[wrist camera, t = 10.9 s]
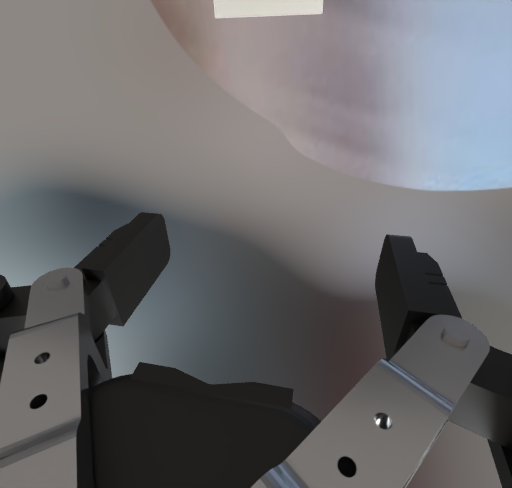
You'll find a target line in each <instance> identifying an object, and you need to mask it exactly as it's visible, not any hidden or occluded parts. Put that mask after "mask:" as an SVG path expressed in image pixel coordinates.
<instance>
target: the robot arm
mask: <svg viewBox="0 0 512 488" xmlns="http://www.w3.org/2000/svg"><path fill="white" fill-rule="evenodd" d="M169 258H170V245H169V240H168V235H167V230H166V224H165V220H164V217H163V216H162V215H161V214H155V213H144V212H142V213H139V214H138V215H137V216H136V217H135V218H134V219H133V220H132V221H131V222H130V223H129V224H126V225H124V226H122V227H120V228H118V229H116V230H114V231H113V232H112V233H111V234H110V235H109V236H108V237H107V238H106V240H104V241H103V242H102V243H100V244H99V247H96V248H95V249H94V250H93V251H92V252H91V253H90V254H88V255H87V256H86V257H85V258H84V259H83V260H82V261H81V262H80V263H79V264H78V265H76V266H75V267H74V268H60V269H56V270H53V271H50V272H48V273H46V274H44V275H42V276H41V277H39V278H38V279H37V280H36V281H35V282H34V283H33V284H32V285H31V286H21V287H10V285H9V284H8V282H7V280H6V278H5V277H4V276H2V275H0V488H406V487H407V485H408V483H409V482H410V480H411V478H412V477H413V475H414V474H415V472H416V470H417V469H418V467H419V466H420V464H421V462H422V461H423V459H424V458H425V456H426V455H427V453H428V451H429V450H430V448H431V447H432V445H433V443H434V442H435V440H436V439H437V437H438V435H439V434H440V432H441V431H442V429H443V428H444V426H445V424H446V423H447V421H450V422H452V423H454V424H457V425H459V426H461V427H463V428H465V429H467V430H469V431H472V432H474V433H476V434H478V435H480V436H482V437H484V438H486V439H487V440H488V443H489V446H490V449H491V452H492V456H493V459H494V462H495V465H496V468H497V472H498V475H499V478H500V482H501V484H502V488H512V355H511V354H509V353H506V352H503V351H501V350H498V349H496V348H494V347H491V346H490V345H489V342H488V340H487V338H486V336H485V335H484V334H483V333H482V332H481V331H480V330H479V329H478V328H477V327H476V326H474V325H473V324H471V323H469V322H468V321H465V320H464V319H462V317H461V315H460V313H459V310H458V308H457V306H456V303H455V301H454V299H453V296H452V295H451V292H450V290H449V288H448V286H447V283H446V281H445V278H444V277H443V274H442V272H441V269H440V267H439V265H438V263H437V262H436V261H435V260H434V259H433V258H431V257H430V256H429V255H428V254H427V253H420V252H417V251H416V248H415V245H414V242H413V240H412V238H411V237H409V236H397V235H386V237H385V239H384V243H383V247H382V251H381V255H380V259H379V263H378V267H377V272H376V279H375V290H376V296H377V302H378V309H379V315H380V321H381V328H382V334H383V341H384V347H385V353H386V359H384V358H383V359H382V360H380V361H379V362H378V363H377V364H376V365H375V366H374V367H373V368H372V369H371V370H370V371H369V372H368V373H367V374H366V375H365V376H364V377H363V378H362V380H360V381H359V383H358V384H357V385H356V386H355V387H354V388H353V389H352V390H351V391H350V392H349V393H348V394H347V395H346V396H345V397H344V398H343V399H342V401H341V402H340V403H339V404H338V405H337V406H336V407H335V408H334V409H333V410H332V411H331V412H330V413H329V414H328V415H327V417H326V418H324V420H323V421H321V420H320V419H319V418H318V417H316V416H315V415H314V414H312V413H311V412H310V411H308V410H307V409H305V408H303V407H302V406H300V405H298V404H295V403H293V402H292V401H293V389H290V388H284V387H279V386H273V385H267V384H262V383H256V382H246V383H231V384H216V385H211V384H207V383H205V382H203V381H201V380H199V379H197V378H194V377H192V376H190V375H188V374H186V373H184V372H182V371H180V370H178V369H176V368H171V367H165V366H159V365H154V364H148V363H142V362H140V363H139V364H138V366H137V367H136V369H135V371H134V373H133V374H129V375H124V376H119V377H116V378H112V371H111V363H110V356H109V347H108V339H107V334H106V331H105V329H106V327H107V326H108V325H109V324H111V325H118V326H124V325H125V323H126V322H127V320H128V319H129V318H130V316H131V315H132V313H133V312H134V310H135V309H136V307H137V306H138V305H139V303H140V302H141V301H142V299H143V298H144V296H145V295H146V294H147V292H148V291H149V289H150V288H151V286H152V285H153V284H154V282H155V281H156V279H157V278H158V277H159V275H160V274H161V272H162V271H163V269H164V268H165V267H166V265H167V264H168V262H169Z"/></svg>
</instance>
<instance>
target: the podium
mask: <svg viewBox="0 0 512 488" xmlns="http://www.w3.org/2000/svg"><path fill="white" fill-rule="evenodd" d="M214 11H215V18H236V17H260V16H284V15H307V14H322V13H323V0H214Z"/></svg>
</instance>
